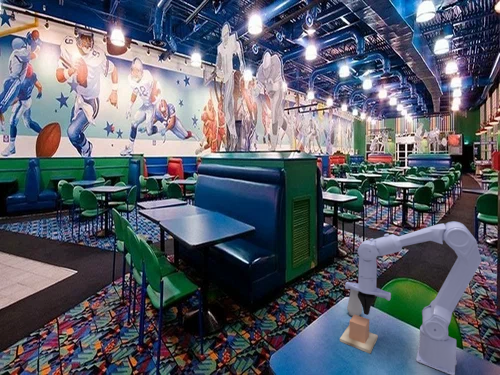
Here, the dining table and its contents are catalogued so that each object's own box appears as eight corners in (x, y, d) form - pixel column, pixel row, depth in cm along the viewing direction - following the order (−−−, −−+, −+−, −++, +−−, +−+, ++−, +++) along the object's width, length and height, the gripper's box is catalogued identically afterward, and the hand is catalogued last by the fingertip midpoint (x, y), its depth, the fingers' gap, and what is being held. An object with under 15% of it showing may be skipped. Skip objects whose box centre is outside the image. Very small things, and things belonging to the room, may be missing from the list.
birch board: (377, 337, 92) (377, 335, 92) (370, 353, 84) (370, 351, 84) (349, 327, 98) (349, 324, 98) (339, 341, 90) (339, 338, 90)
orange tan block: (368, 335, 91) (369, 319, 91) (364, 343, 87) (365, 326, 87) (353, 330, 95) (354, 314, 94) (349, 337, 91) (349, 320, 90)
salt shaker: (364, 318, 103) (365, 287, 102) (350, 318, 104) (350, 287, 102) (358, 310, 109) (359, 280, 108) (345, 310, 109) (345, 280, 108)
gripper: (393, 277, 89) (391, 315, 90) (349, 267, 97) (349, 302, 98) (389, 284, 83) (387, 324, 84) (343, 273, 92) (342, 310, 93)
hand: (366, 313), depth 91 cm, fingers closed
